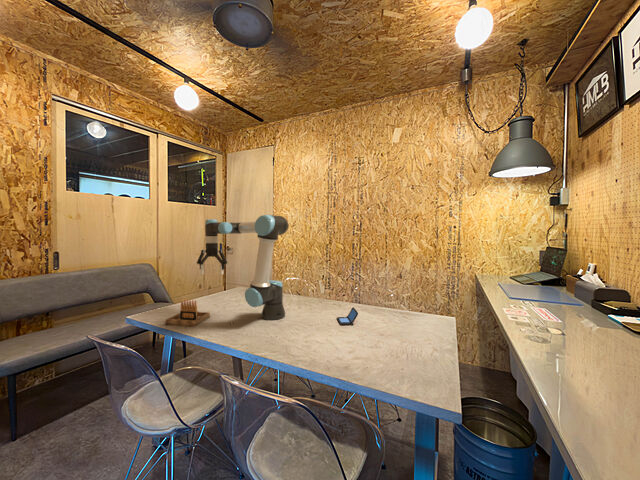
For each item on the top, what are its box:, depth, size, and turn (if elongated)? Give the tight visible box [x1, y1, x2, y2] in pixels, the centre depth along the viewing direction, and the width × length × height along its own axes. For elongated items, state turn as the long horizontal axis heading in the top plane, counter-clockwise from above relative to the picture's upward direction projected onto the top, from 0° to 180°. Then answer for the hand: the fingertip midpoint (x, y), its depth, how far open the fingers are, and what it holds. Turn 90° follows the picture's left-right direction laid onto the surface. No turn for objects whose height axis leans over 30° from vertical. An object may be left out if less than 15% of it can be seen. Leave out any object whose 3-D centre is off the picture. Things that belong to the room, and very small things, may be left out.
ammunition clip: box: [179, 299, 199, 320], centre depth 156 cm, size 11×2×12 cm, turn 82°
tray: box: [165, 311, 211, 327], centre depth 157 cm, size 18×16×3 cm
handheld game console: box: [336, 306, 359, 327], centre depth 157 cm, size 12×11×7 cm
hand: (212, 274), depth 172 cm, fingers open, 13 cm apart
